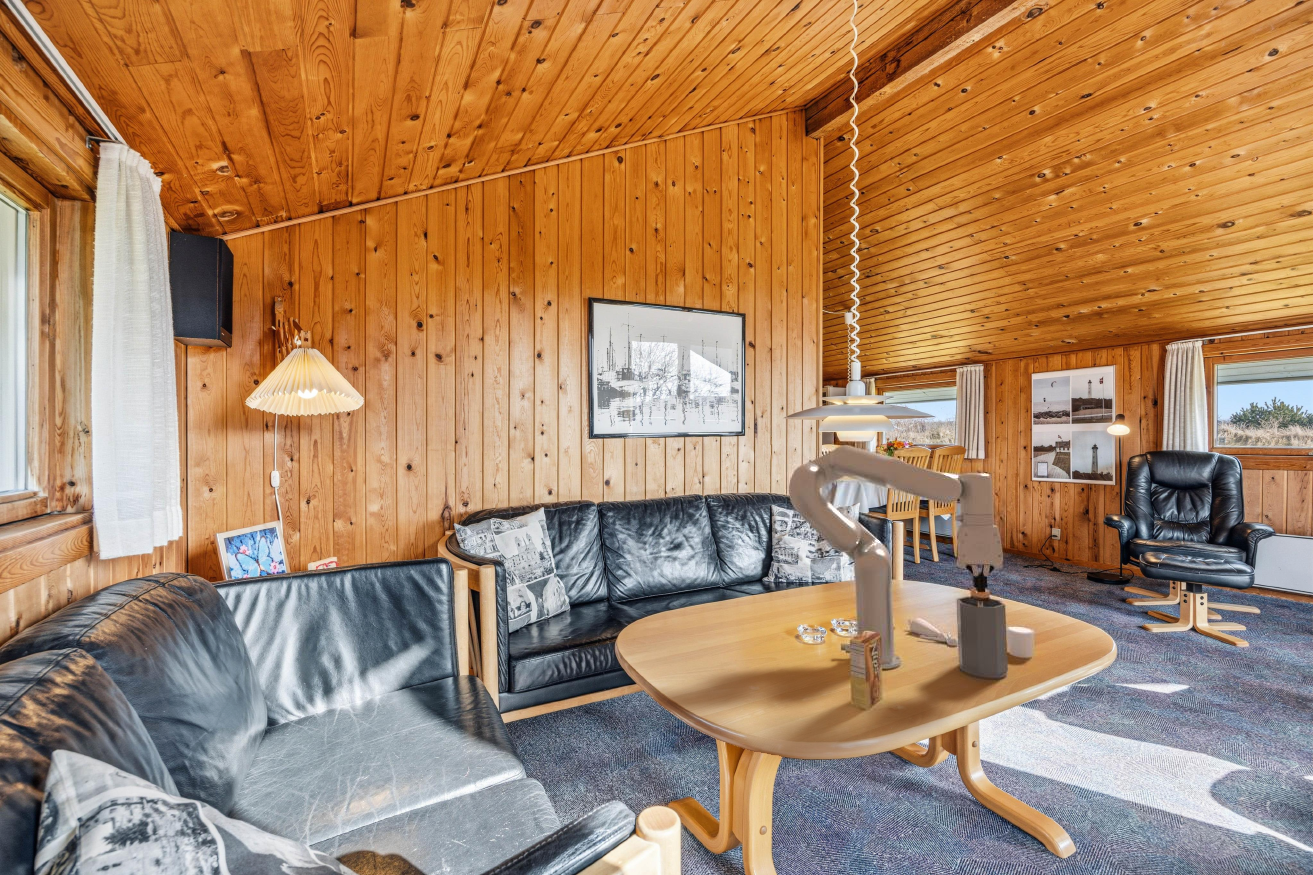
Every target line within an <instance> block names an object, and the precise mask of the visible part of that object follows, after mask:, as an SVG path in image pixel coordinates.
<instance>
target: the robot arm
mask: <svg viewBox="0 0 1313 875" xmlns="http://www.w3.org/2000/svg"><path fill="white" fill-rule="evenodd" d="M844 477H847V478H851V479H854V480H859V481H862V482H866V483H869V484H872V485H876V486H880V487H883V488H887V489H890V490H892V491H893V490H894V491H899V492H903V493H906V494H910V495H913V496H916V497H919V498H923V499H926V500H930V501H934V502H937V503H941V504H950V503H953V502H954V503H955V502H956V501H957V500H958V499H959V500H960V513H959V515H955V516H954V521H955V522H960V524H958V528H957V532H956V533H957V535H956V558H957V561H956V565H955V566H957V567H958V568H960V569H964V570H967V571H969V572H970V574H972V583H973V584H972V586H973V589H974V588H976V590H977V591H978V592H981V591H983V592H985V589H988V577H989V575H990V574H991V573H992V572H993V571H995V570H1000V569H1003V568H1004V565H1003V562H1004V554H1003V546H1002V544H1003V543H1002V540H1001V539H1002V538H1001V533H1000V530H999V526H998V525H995V517H994V515H995V514H994V499H993V498H994V497H993V496H994V495H993V481H992V480H993V479H992V476H991V475H990V474H989V473H985V472H967V473H951V472H941V471H936V470H933V469H929V468H924V467H921V466H917V465H914V464H911V463H908V462H906V461H904V460H901V459H899V458H896V457H893V456H889V455H885V454H882V453H877V452H874V451H870V450H865V449H862V448H858V447H855V446H852V445H849V444H845V445H840V446H839V445H838V446H837V447H836V448H834V449H833V450H831V451H829V452H827V453H825V454H824V455H821V456H819V457H817V458H815V459H813V460H811V461H808V462H807V463H804V464H801V465H800V466H798V467H796V469H795V470H794V471H793V473H792V474H791V478H790V480H789V485H788V495H789V499H790V503H791V504H792V507H793V508H794V509H795V511H796V513H797V514H799V516H800V517H801V518H802V519H803V520H804V521H805V522H806V523H807V524H809V526H810V527H811V528H812V529H813V530H814V531H815V532H816V533H817V534H818V535H819V536H821V537H822V539H824V541H825V542H826V543H827V544H828V545H829V546H830V547H831V548H832V549H834V550H835V551H838V552H840V553H845V555H846V556H847V557H849V558H850V559H851V560H852V561H853V562H854V564H853V566H854V567H853V571H854V574H853V575H854V585H855V588H854V589H855V605H856V606H855V608H856V609H855V610H856V636H857V635H859V634H861V633H862V632H864V631H871V632H876V633H880V634H881V646H882V670H888V669H894V668H897V667H899V666H900V665H901V664H902V659H901V657H900V655H898V654H896V653H895V638H894V637H895V636H894V635H895V634H894V630H895V629H894V611H893V610H894V607H893V606H894V605H893V568H892V566H893V564H892V559H891V553H890V552H889V549H888V548H887V547H886V546H885V545H884V544H883V543H882V542H881V540H879V539H878V538H877V537H876V536H874V535H873V533H871V532H870V531H869V530H868V529H867V528H866V527H864V526H863V524H861V522H859V521H858V520H857V519H855V518H854V517H852V516H850V515H846V514H843V513H841V512H840V511H839V510H838V509H837V508H836V507H835V506H834V505H832V503H831V502H830V501H828V499H826V498H825V497H824V496H823V495H822V494H821V489H822V488H824V487H825V486H827V485H830V484H832V483H835V482H837V481H839V480H841V479H843V478H844ZM978 566H981V569H980V572H979V570H978ZM840 651H845V653H846V654H850V643H842V642H841V643H840Z"/></svg>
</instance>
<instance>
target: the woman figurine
mask: <svg viewBox="0 0 1313 875" xmlns="http://www.w3.org/2000/svg"><path fill="white" fill-rule="evenodd" d="M907 623H908V625H909V629H910V631H911V633H913V634H916V635H917V634H918V635H919V638H921V639H928V640H933V641H940V642H942V643H947V645H948V646H950V647H957V646H958V638H956V637H955V636H951V631H949V630H947V632H948V633H947V632H946V631H943V632H941V631H939V629H937V628H936V627H934V626H933V625H932V624H930V622H928V621H926V620H925V619H922V618H919V617H917V618H914V619H913V620H912V621H911V619H908V622H907Z"/></svg>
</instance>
